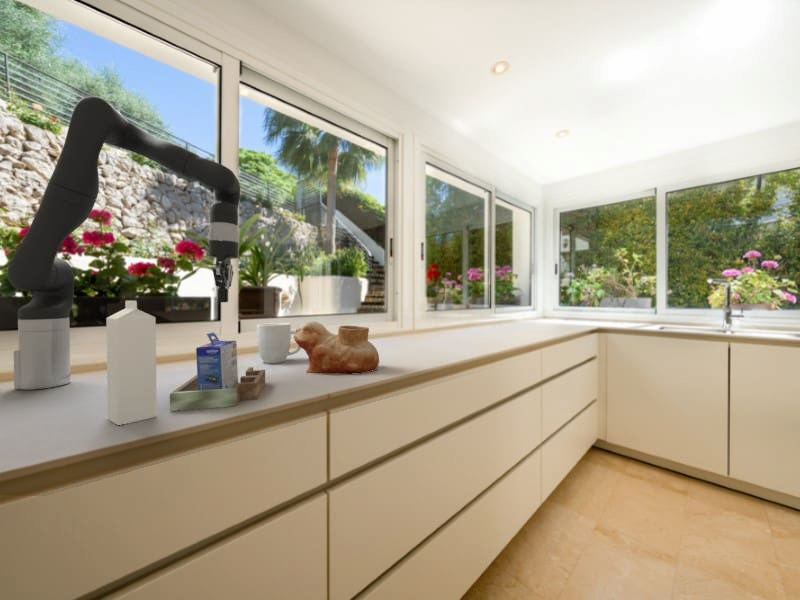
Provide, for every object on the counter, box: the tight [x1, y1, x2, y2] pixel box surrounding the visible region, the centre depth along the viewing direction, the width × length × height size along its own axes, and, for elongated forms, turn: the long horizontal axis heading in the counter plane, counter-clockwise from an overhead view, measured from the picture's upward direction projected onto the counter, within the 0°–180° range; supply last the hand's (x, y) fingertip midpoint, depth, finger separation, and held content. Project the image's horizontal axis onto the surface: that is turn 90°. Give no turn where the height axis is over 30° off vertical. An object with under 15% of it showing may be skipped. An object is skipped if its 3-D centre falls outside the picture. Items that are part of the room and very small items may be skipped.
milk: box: [105, 300, 158, 426], centre depth 65 cm, size 6×6×22 cm
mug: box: [256, 322, 302, 364], centre depth 121 cm, size 15×11×13 cm
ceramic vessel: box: [293, 320, 380, 375], centre depth 107 cm, size 14×26×15 cm, turn 87°
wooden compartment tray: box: [169, 366, 266, 412], centre depth 82 cm, size 16×23×4 cm
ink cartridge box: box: [195, 332, 239, 391], centre depth 79 cm, size 10×6×14 cm, turn 7°
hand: (223, 302), depth 98 cm, fingers closed
